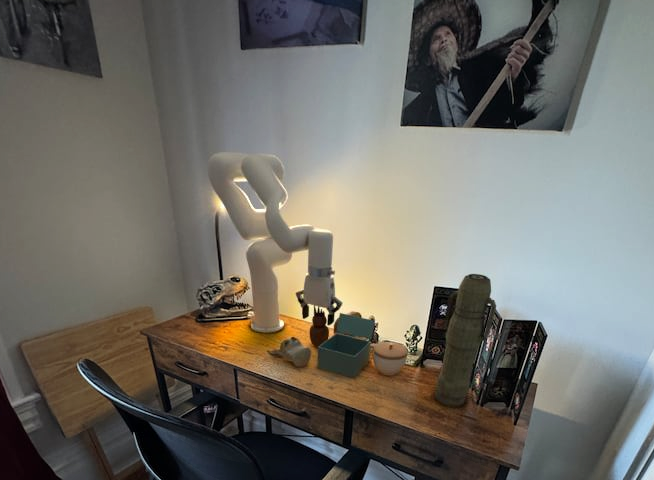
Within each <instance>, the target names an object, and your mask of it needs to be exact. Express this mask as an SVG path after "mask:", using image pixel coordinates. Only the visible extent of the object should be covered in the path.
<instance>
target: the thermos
mask: <svg viewBox="0 0 654 480" xmlns="http://www.w3.org/2000/svg"><path fill="white" fill-rule="evenodd" d="M491 285H492V282H491V279H490V278H489V277H488V276H487V275H483V274H479V273H469V274H467V275H465V276H464V277H463V279H462V280H461V282H460V284H459V286H458V290H456V291H453V292H451V294H450V295H449V296H448V298H447V305H446V311H445V317H444V322H443V328H444V329H445V331H446V336H445V342H446V345H445V350H444V355H443V359H442V360H443V361H442V364H441V369H440V373H439V375H438V376H437V378H436V384H435V392H434V398H435V400H436V401H437V402H438V403H440V404H442V405H444V406H448V407H461V406H463V405H464V404H465V402H466V399H467V396H468V393H469V390H470V386H471V374H472V369H473V366H474V362H475V358H476V355H477V351H478V349H479V347H480V346H481V343H482V342H486V341H487V340H488V337H489V335H490V331H491V327H492V323H493V319H494V317H495V312H496V309H497V304H496V301H495V299H493V298H492V297H491V294H492V286H491ZM455 298H456V300H455ZM454 303H455V304H454ZM454 305H455V306H454ZM489 305H490V311H489V314H488V319H487V323H486V326H485V317H486V314H485V313H486V311H488V306H489ZM454 307H455V309H453V308H454ZM452 312H453V314H452Z"/></svg>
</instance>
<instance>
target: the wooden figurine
mask: <svg viewBox="0 0 654 480" xmlns="http://www.w3.org/2000/svg"><path fill="white" fill-rule="evenodd" d="M325 313H326V312H325V310H323V308H320V307H319V306H317V307H316V306H315V305H313V316H312V317H311V321H312V324H311V326H310V327H309V339H310V343H311V344H312V346H314V347H316V348H318V347H319V346H320V345H321V344H323V343H324V342H325V341H327V340H328V339H329V338H330V329H329V326H328V325H327V320H328V318H327V316H326V314H325Z"/></svg>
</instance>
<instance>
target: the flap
mask: <svg viewBox="0 0 654 480" xmlns="http://www.w3.org/2000/svg"><path fill="white" fill-rule="evenodd" d="M338 318H339V320H338V325H337V332H341V333H346V334H350V335H352V336H353V337H357V338H361V339H365V340H369V341H371V340H372V338H373V334H374V328H375V324H376V320H374V319H369V318H366V317H365V318H364V317H362V318H361V317H356V316H352V315H347V313H342V312H340V313H339V316H338Z"/></svg>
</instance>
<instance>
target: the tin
mask: <svg viewBox="0 0 654 480" xmlns="http://www.w3.org/2000/svg"><path fill="white" fill-rule="evenodd" d="M346 314H347V315H352V316H356V317H361V318H363V317H362V313H360V312H359V311H349V312H347V313H346ZM338 320H339V317H337V318H336V319H335V320H334V322H333V335H334V334H336V333H338V334H342V335H346V336H350V337H353V335H350V334H346V333H341V332H337V325H338Z"/></svg>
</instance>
